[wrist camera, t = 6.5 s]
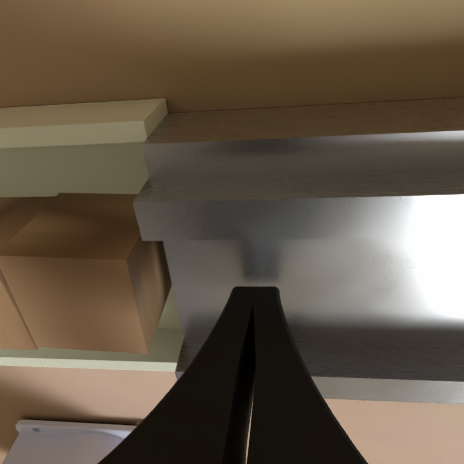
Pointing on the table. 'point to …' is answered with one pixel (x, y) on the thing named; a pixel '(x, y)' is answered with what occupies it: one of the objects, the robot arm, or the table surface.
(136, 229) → the block
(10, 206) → the block
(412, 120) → the rail
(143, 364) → the tray
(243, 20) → the table surface
